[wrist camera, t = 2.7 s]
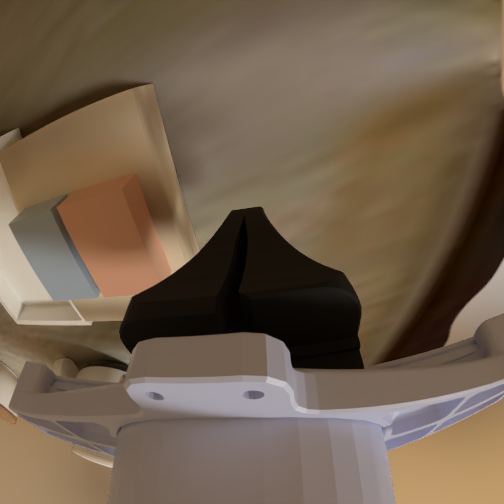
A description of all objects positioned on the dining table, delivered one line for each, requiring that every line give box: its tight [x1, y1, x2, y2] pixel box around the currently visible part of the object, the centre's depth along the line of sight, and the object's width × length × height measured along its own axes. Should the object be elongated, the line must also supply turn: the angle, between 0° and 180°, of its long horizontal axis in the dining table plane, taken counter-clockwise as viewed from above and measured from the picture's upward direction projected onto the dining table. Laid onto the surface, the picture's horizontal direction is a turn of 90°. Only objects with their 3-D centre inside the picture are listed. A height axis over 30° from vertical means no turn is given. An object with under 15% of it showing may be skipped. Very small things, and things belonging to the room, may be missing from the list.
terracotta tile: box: [57, 173, 172, 297], centre depth 14 cm, size 6×4×2 cm, turn 9°
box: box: [0, 128, 93, 325], centre depth 17 cm, size 16×11×2 cm
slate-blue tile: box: [8, 194, 101, 301], centre depth 14 cm, size 6×4×2 cm, turn 9°
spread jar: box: [52, 358, 128, 468], centre depth 25 cm, size 12×11×12 cm
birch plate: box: [0, 83, 200, 322], centre depth 16 cm, size 14×10×3 cm
